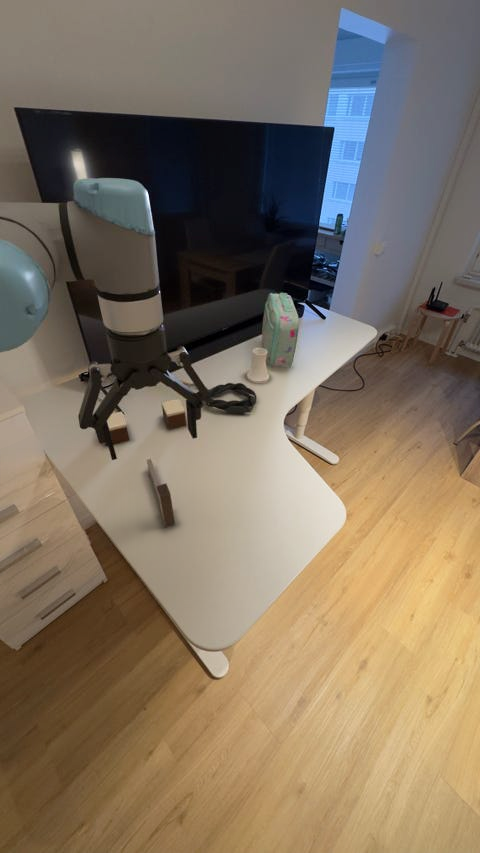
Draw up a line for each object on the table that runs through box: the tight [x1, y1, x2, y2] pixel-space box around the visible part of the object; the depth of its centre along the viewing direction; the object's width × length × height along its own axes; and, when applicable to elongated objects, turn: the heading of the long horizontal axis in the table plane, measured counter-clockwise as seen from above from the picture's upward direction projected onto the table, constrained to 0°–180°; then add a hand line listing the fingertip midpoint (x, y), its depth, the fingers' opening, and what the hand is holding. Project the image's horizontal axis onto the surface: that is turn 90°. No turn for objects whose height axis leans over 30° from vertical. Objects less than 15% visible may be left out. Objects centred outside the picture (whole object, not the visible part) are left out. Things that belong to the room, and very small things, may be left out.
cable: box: [204, 382, 257, 415], centre depth 105 cm, size 17×14×4 cm
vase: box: [246, 347, 270, 384], centre depth 115 cm, size 8×8×10 cm
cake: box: [105, 411, 131, 447], centre depth 91 cm, size 6×6×6 cm
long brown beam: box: [146, 458, 176, 528], centre depth 74 cm, size 2×17×10 cm, turn 25°
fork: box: [178, 379, 209, 390], centre depth 112 cm, size 2×2×20 cm
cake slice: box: [161, 398, 187, 431], centre depth 96 cm, size 5×6×6 cm
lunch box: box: [260, 292, 300, 368], centre depth 124 cm, size 27×10×21 cm, turn 3°
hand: (154, 443), depth 58 cm, fingers open, 13 cm apart
